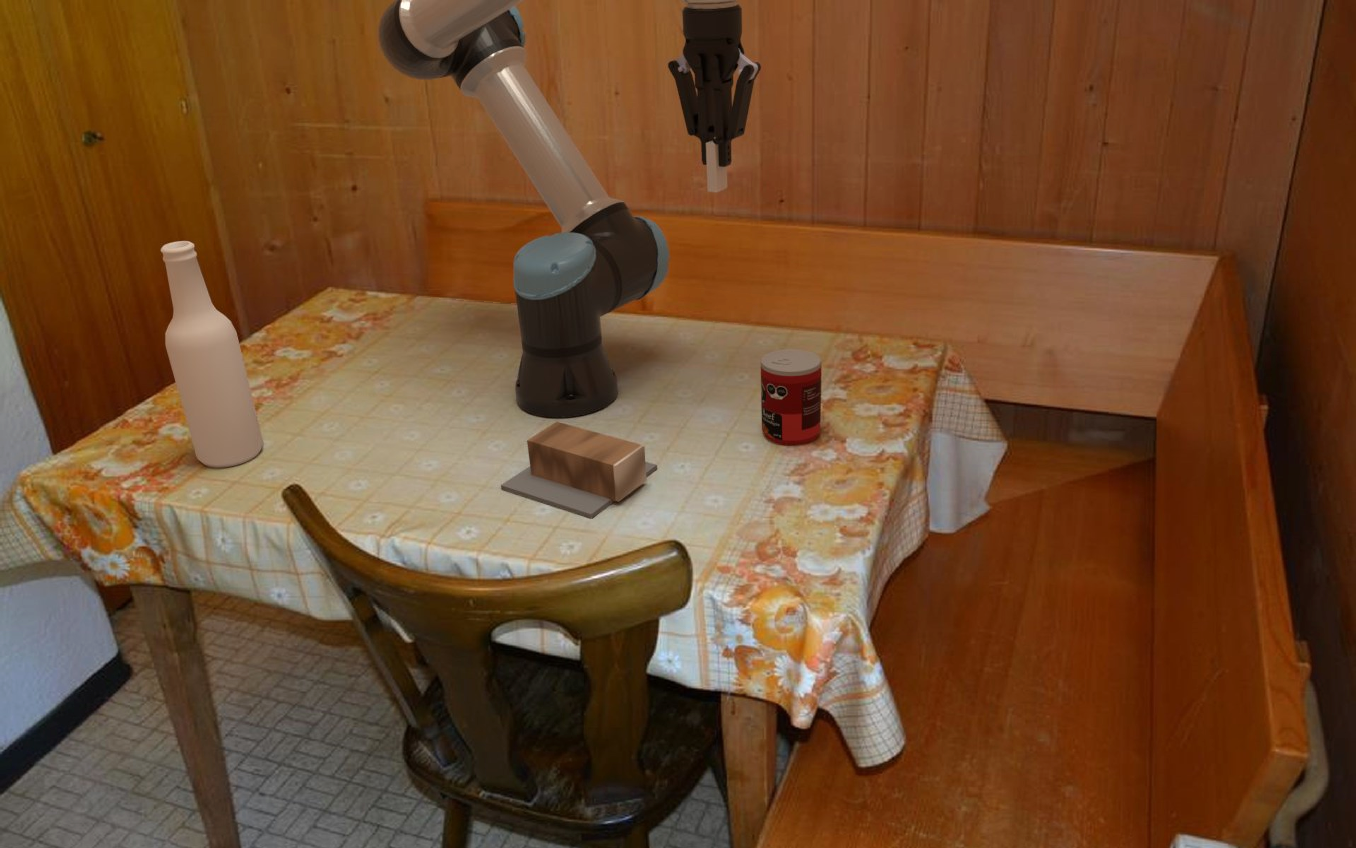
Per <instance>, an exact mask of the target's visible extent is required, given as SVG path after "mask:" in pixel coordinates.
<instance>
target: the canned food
mask: <svg viewBox="0 0 1356 848" xmlns="http://www.w3.org/2000/svg"><path fill="white" fill-rule="evenodd" d="M760 396H761V397H760V398H761V399H760V401H761V404H760V406H761V410H760V411H761V412H760V413H761V431H762V433H763V436H764V438H766V440H768V441H769V442H771V443H773V444H777V445H781V446H789V447H790V446H791V447H792V446H793V447H794V446H800V445H806V444H809V443H811V442H813V441H814V440H816V439H817V438H818V437H819V434H820V431H821V425H822V424H821V422H822V421H821V420H822V418H821V417H822V415H821V414H822V412H821V411H822V360H821V357H820V356H819V355H818V354H817V353H814V352H811V351H810V350H809V351H808V350H806V349H805V350H804V349H797V348H790V349H789V348H785V349H777V350H774V351H770V352H768V353H766V354H764V355H763V356H762V357H761V361H760Z"/></svg>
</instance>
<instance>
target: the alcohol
mask: <svg viewBox="0 0 1356 848" xmlns="http://www.w3.org/2000/svg"><path fill="white" fill-rule="evenodd" d="M160 252H161V253H162V260H163V262H164V263H165V268H166V275H167V280H168V286H169V291H170V297H171V302H172V303H171V304H172V307H173V308H172V309H173V311H172V312H173V313H172V319H171V320H170V322H169V323H168V326H167V329H166V331H165V334H164V335H165V336H164V337H165V341H164V342H165V348H166V352H167V355H168V356H167V357H168V359H169V363H170V366H171V371H172V373H173V377H174V378H173V379H174V380H175V385H176V387H177V392H178V396H179V397H180V403H181V406H182V410H183V413H184V417H185V419H186V424H187V428H188V432H189V435H190V439H191V441H192V447H193V449H194V452H195V457H196V458H197V460H198V461H200V462H201V463H202V464H203V465H205V466H206V467H209V468H217V469H220V468H222V469H223V468H229V467H234V466H239V465H242V464H244V463H247V462H248V461H251V460H253V459H254V458H256V457H257V456H258V455H259V454H260V452H261V450H262V448H263V444H264V439H263V434H262V432H261V427H260V423H259V418H258V415H257V410H256V408H255V402H254V398H253V393H252V390H251V386H250V382H249V378H248V374H247V370H246V367H245V366H246V364H245V362H244V357H243V354H242V350H241V346H240V341H239V338H238V334H237V330H236V328H235V327H234V325H233V322H232V321H231V320H230V319H229V318H228V317H227V316H226V315H225V314H224V313H222V312H220V311H219V310H217V309H216V307H215V306H214V304H213V302H212V299H211V296H210V293H209V290H208V288H207V284H206V282H205V279H204V276H203V274H202V270H201V267H200V264H199V261H198V259H197V257H198V254H197V251H195V243H193V242H191V241H188V240H181V241H173V242H169V243H166V244H164V245H162V247H161V248H160Z"/></svg>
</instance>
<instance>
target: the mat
mask: <svg viewBox="0 0 1356 848" xmlns="http://www.w3.org/2000/svg"><path fill="white" fill-rule="evenodd" d="M645 463H646V478H648V477H649V476H650V475H651V474H652V473H654V472H655V471H657V470H658V464H656V463H653V462H648V461H645ZM500 489H501V490H503V491H506V492H509V493H511V494H515V495H517V496H521V497H523V498H528V499H529V500H534V501H536V502H539V503H542V504H545V505H549V506H552V507H555V508H558V509H561V510H564V511H568V512H570V513H574V514H576V515H579V516H583V517H584V518H585V517H586V518H589V519H593V518H594V517H596V516H597V515H598V514H600V513H601V512H602V511H604V510H605V509H606V508H607V507H609V506H610V505H612V504H613V503H614V502H616V501H615V500H611V499H608V498H605V497H602V496H598V495H595V494H592V493H589V492H586V491H582V490H579V489H576V488H573V487H569V486H566V485H563V484H560V483H556V482H553V481H550V480H547V479H544V478H540V477H537V476H534V475H531V469H530V465H529V466H528V467H526V468H525V469H523V470H522V471H520V472H519V473H517V474H515V475H514V476H512V477H510V479H508V480H506V481H505V482H503V483H502V484H500Z"/></svg>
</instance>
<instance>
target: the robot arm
mask: <svg viewBox="0 0 1356 848" xmlns="http://www.w3.org/2000/svg"><path fill="white" fill-rule="evenodd" d="M524 1H525V0H394V1H393V2H391V3H390V4H389V6H387V8H386V9H385V10H384V11H383V13H382V15H381V17H380V19H379V22H378V23H379V24H378V27H377V28H378V30H377V33H378V35H377V37H378V43H379V46H380V49H381V52H382V53H383V56H384V58H385V59H386V60H387V62H388V63H389V64H390V66H392V67H393V68H394V69H395V70H396V71H397V72H399V73H400V74H402V75H404V76H407V77H409V78H412V79H416V80H421V81H422V80H424V81H425V80H431V81H432V80H436V79H441V78H442V79H443V78H446V77H451V78H452V79H453V81H454V83H455V84H456V86H457V87H458V89H459V90H460V93H461V94H462V95H464V96H465V97H470V98H473V99H477V100H478V101H479V103H480V105H481V107H483V109H484V111H485V112H486V114H487V115H488V117H489V118H490V120H491V122H493V124H494V126H495V128H496V129H497V130H498V132H499V134H500V135H501V137H502V138H503V140H504V141H505V143H506V144H507V146H508V148H509V149H510V151H511V152H512V154H513V156H514V157H515V158H516V160H517V161H518V163H519V164H520V166H521V168H522V169H523V170H524V172H525V173H526V175H527V176H528V179H529V180H530V182H531V183H532V185H533V186H534V187H535V189H536V191H537V192H538V193H539V195H540V197H541V198H542V200H543V202H544V203H545V205H546V206H547V208H548V209H549V211H550V212H551V214H552V215H553V217H554V218H555V220H556V222H557V224H559V226H560V228H561V232H556V233H554V234H553V235H543V236H541V237H538V238H535V239H533V240H531V241H529V242H527V243H525V244H524V245H523V246H521V248H519V249H518V251H517V252H516V254H515V256H514V259H513V262H512V263H513V265H512V266H513V281H512V282H513V283H512V284H513V289H514V292H515V293H514V295H515V299H516V301H515V302H516V306H517V307H516V308H517V315H518V322H519V329H520V331H519V332H520V338H521V339H520V340H521V346H522V354H521V357H520V361H519V362H520V364H519V368H518V373H517V379H516V382H515V388H514V389H515V397H516V404H517V405H518V406H519V408H520V409H521V410H523V411H524V412H527V413H528V414H532V415H535V416H539V417H545V418H546V417H547V418H570V417H579V416H583V415H588V414H592V413H594V412H595V413H596V412H597V411H599V410H602V409H604V408H606V407H608V406H609V405H610V404H612V403H613V402H614V401H615V399H616V398H617V397H618V394H619V389H618V388H619V387H618V378H617V375H616V373H615V371H614V369H613V368H612V367H611V363H610V360H609V358H608V354H607V353H606V350H605V348H604V345H603V339H602V325H601V324H602V323H601V317H603V316H604V315H607V314H609V313H612V312H613V311H616V310H617V309H620V308H621V307H623V306H627V305H628V304H630V303H632V302H634V301H638V300H642V299H644V298H645V297H646V296H647V295H649V294H651V292H653V291H655V290H656V289H658V287H660V286H661V285H662V283H663V282H664V281H665V279H666V277H667V274H668V272H669V261H670V250H669V245H668V241H667V239H666V236H665V235H664V232H663V230H662V229H661V227H660V226H658V225H657V223H656V222H654V221H653V220H652V219H650V218H646V217H645V216H640V215H636V216H634V215H633V213H632V211H631V210H630V209H629V207H628V206H627V204H626V202H625V201H624V200H621V199H616V198H612V197H610V196H609V195H608V194H607V192H606V190H605V189H604V187H603V186H602V184H601V182H600V181H599V180H598V178H597V176H596V175H595V173H594V172H593V170H592V168H591V167H590V166H589V164H588V162H587V161H586V159H585V157H584V156H583V155H582V153H581V152H580V150H579V149H578V147H577V146H576V145H575V143H574V140H573V139H572V138H571V136H570V135H569V132H567V130H566V129H565V127H564V125H563V124H562V123H561V121H560V120H559V118H558V116H557V115H556V113H555V112H554V110H553V109H552V107H551V105H550V103H548V101H547V100H546V98H545V96H544V94H543V93H542V92H541V90H540V89H539V87H538V86H537V84H536V83H535V81H534V79H533V78H532V76H531V75H530V73H529V71H528V70H527V69H526V66H525V65H526V62H527V57H528V52H527V50H526V49H525V44H526V32H525V31H523V28H524V27H525V24H524V21H523V17H522V15H521V13H520V11H519V9H518V8H517V7H516V6H517V5H519V4H520V3H522V2H524ZM681 1H682V2H683V4H685V5H686V7H684V8H683V9H682V13H681V14H682V15H681V16H682V34H683V37H684V38H685V43H684V46H683V48H682V54H681V55H680V56H679V57H678V58H676V59H674V60H670V61H669V62H668V63H667V68H668V70H669V72H670V73H671V75H672V76H673V78H674V81H675V85H676V90H677V94H678V97H679V98H678V99H679V102H680V107H681V110H682V115H683V119H684V123H685V127H686V131H687V134H688V135H689V136H691V137H695V138H697V139H698V140H699V141H700V146H701V148H700V150H701V151H700V152H701V162H702V165H703V166H706V182H707V183H706V184H707V192H709V193H719V192H721V191H723V190H725V189H728V166H731V164H732V160H733V159H732V141H733V140H734V139H736V138H740V137H741V136H743V135H744V134H745V131H746V126H747V120H748V116H749V110H750V105H751V104H750V103H751V100H752V93H753V88H754V84H755V80H756V79H757V77H758V75H759V74H760V71H761V70H762V66H761V63H759V62H758V61H756V62H753V61H751V59H749V58H748V57H747V56H745V50H744V47H743V43H742V39H741V38H742V34H743V15H742V14H743V11H742V9H743V8H742V7H741V5H740V4H738V2H739V1H740V0H681ZM737 69H738V70H737ZM736 71H737V72H736ZM692 72H693V73H692ZM735 72H736V73H737V75H738V78H737V80H736V83H735V88H734V95H733V94H732V93H733V90H732V89H733V86H734V74H735ZM693 75H694V77H693ZM732 95H733V96H732Z"/></svg>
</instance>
